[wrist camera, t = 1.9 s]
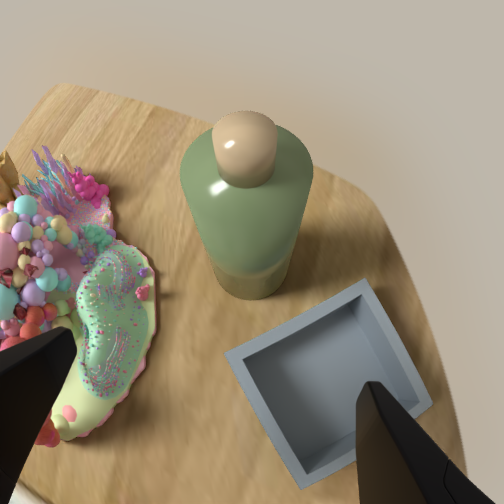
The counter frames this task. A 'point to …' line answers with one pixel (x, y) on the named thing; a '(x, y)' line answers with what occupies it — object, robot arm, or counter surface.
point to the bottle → (247, 200)
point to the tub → (324, 379)
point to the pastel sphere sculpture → (73, 289)
